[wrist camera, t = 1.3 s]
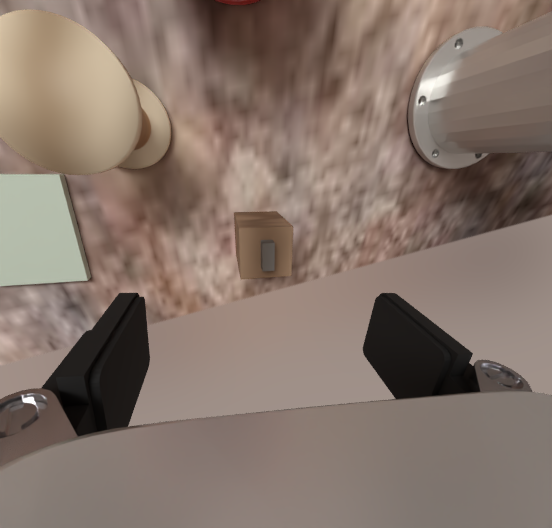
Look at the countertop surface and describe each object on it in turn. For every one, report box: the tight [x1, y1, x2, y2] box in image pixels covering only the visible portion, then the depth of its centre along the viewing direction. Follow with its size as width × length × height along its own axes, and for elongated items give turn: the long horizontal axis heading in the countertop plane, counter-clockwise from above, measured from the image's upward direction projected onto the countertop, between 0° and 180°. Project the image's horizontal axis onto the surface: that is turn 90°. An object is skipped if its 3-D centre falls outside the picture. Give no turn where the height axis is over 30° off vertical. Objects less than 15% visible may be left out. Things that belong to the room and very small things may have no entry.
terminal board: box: [0, 174, 91, 286], centre depth 24 cm, size 8×10×1 cm
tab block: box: [234, 211, 293, 279], centre depth 25 cm, size 4×4×8 cm
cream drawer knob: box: [0, 10, 171, 175], centre depth 18 cm, size 7×7×11 cm
